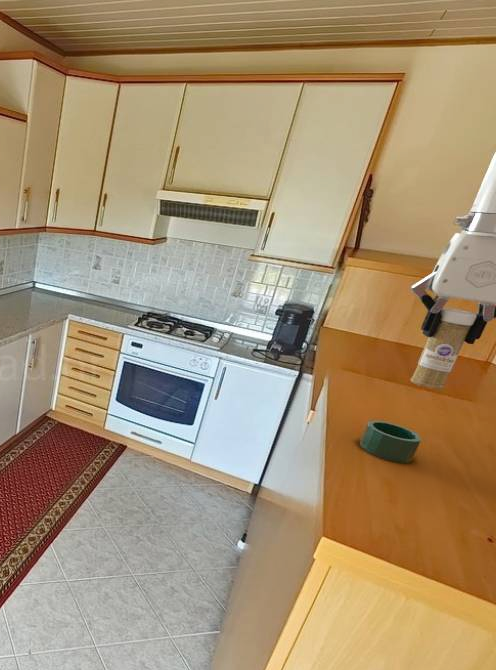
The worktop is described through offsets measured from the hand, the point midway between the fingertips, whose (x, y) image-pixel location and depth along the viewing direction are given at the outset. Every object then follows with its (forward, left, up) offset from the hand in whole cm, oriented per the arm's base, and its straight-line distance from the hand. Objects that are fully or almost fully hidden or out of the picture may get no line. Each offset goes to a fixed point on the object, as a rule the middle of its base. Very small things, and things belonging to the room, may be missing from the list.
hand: (447, 337), depth 82 cm
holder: (+1, -2, -23) cm, 24 cm away
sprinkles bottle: (0, 0, -9) cm, 9 cm away
